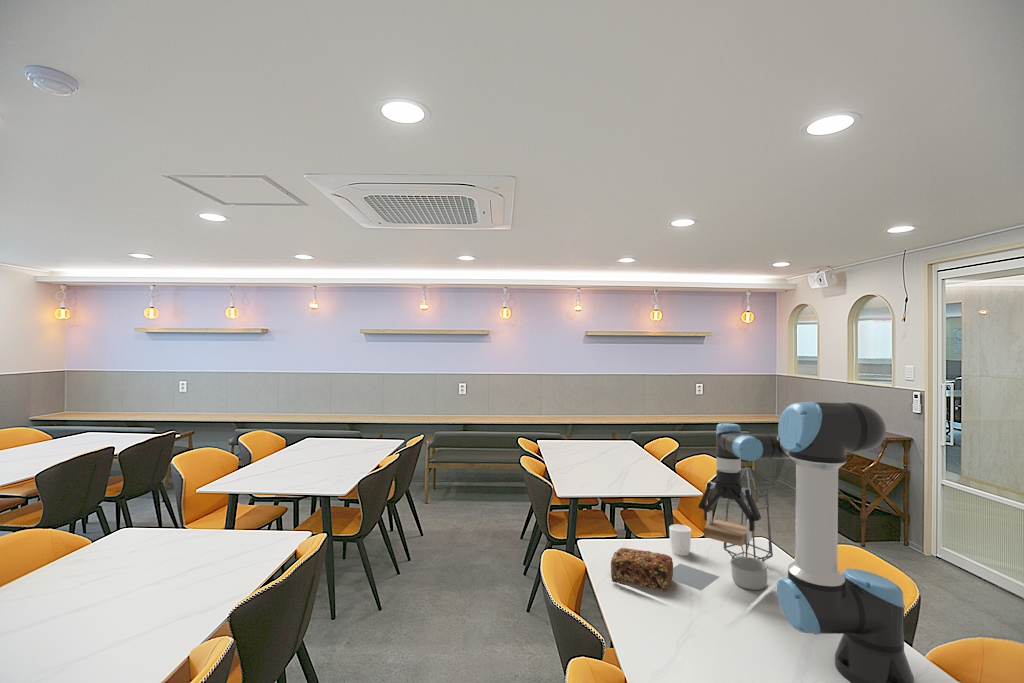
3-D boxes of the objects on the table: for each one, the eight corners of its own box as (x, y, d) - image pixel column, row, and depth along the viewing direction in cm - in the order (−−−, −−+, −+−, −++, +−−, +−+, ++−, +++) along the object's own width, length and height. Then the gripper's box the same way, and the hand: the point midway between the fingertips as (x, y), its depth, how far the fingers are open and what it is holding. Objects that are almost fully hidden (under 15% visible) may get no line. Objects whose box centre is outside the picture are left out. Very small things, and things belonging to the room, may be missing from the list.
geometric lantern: (752, 577, 167) (752, 474, 168) (714, 559, 181) (714, 464, 182) (781, 568, 175) (781, 469, 175) (743, 552, 188) (743, 461, 189)
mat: (701, 593, 155) (701, 590, 155) (660, 578, 165) (660, 575, 165) (719, 579, 165) (719, 576, 165) (680, 566, 175) (680, 563, 175)
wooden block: (741, 546, 154) (741, 536, 154) (703, 536, 163) (703, 527, 163) (753, 536, 163) (753, 527, 163) (717, 527, 171) (717, 519, 171)
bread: (673, 583, 163) (674, 552, 163) (666, 596, 153) (667, 564, 154) (619, 570, 172) (619, 541, 172) (609, 582, 163) (609, 552, 163)
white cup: (664, 552, 188) (664, 526, 188) (680, 549, 191) (680, 523, 191) (679, 560, 181) (679, 532, 181) (695, 556, 184) (695, 529, 184)
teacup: (771, 597, 154) (771, 571, 154) (734, 593, 156) (735, 567, 156) (758, 577, 167) (758, 553, 168) (725, 574, 170) (725, 550, 170)
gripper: (771, 474, 158) (772, 542, 157) (697, 463, 175) (697, 524, 174) (764, 478, 153) (764, 548, 152) (688, 466, 169) (688, 529, 168)
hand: (728, 535), depth 163 cm, fingers closed on wooden block, 12 cm apart
